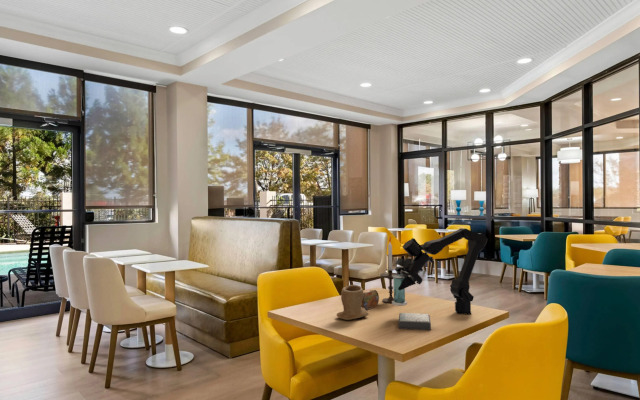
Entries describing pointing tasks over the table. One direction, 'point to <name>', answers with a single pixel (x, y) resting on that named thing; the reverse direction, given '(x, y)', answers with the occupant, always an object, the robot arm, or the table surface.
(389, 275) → the candlestick
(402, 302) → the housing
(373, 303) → the tin
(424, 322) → the stand
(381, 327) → the table surface
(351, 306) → the stone cup
